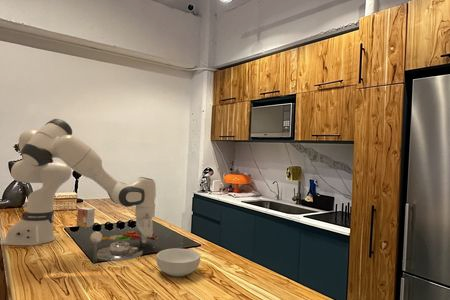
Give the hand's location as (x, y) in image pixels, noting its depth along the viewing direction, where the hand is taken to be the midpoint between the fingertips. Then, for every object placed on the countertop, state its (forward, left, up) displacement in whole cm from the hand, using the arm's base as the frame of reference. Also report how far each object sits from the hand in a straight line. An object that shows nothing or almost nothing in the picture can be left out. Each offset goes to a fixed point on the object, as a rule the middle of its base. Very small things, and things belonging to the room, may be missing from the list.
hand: (143, 242), depth 146 cm
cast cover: (-10, -5, -3) cm, 12 cm away
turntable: (-9, -4, -4) cm, 11 cm away
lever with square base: (-19, -17, -4) cm, 26 cm away
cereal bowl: (+13, -28, -4) cm, 31 cm away
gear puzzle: (-9, +21, -5) cm, 23 cm away
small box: (-32, +50, -4) cm, 60 cm away
